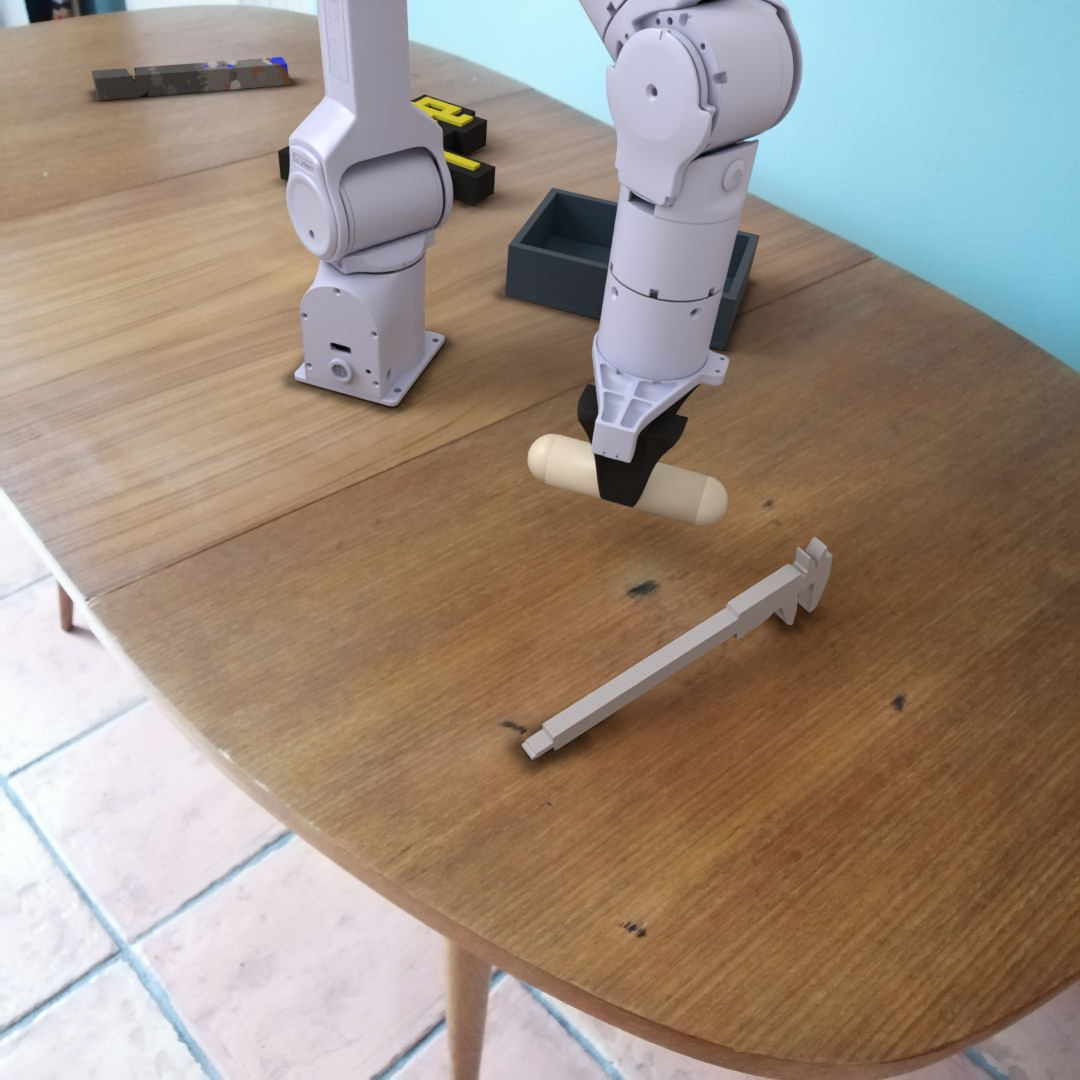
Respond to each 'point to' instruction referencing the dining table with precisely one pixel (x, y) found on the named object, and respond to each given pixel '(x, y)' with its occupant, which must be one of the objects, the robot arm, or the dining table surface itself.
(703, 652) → the caliper
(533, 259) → the bin
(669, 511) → the cream capsule shape
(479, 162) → the toy
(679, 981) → the dining table surface
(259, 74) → the pillar
